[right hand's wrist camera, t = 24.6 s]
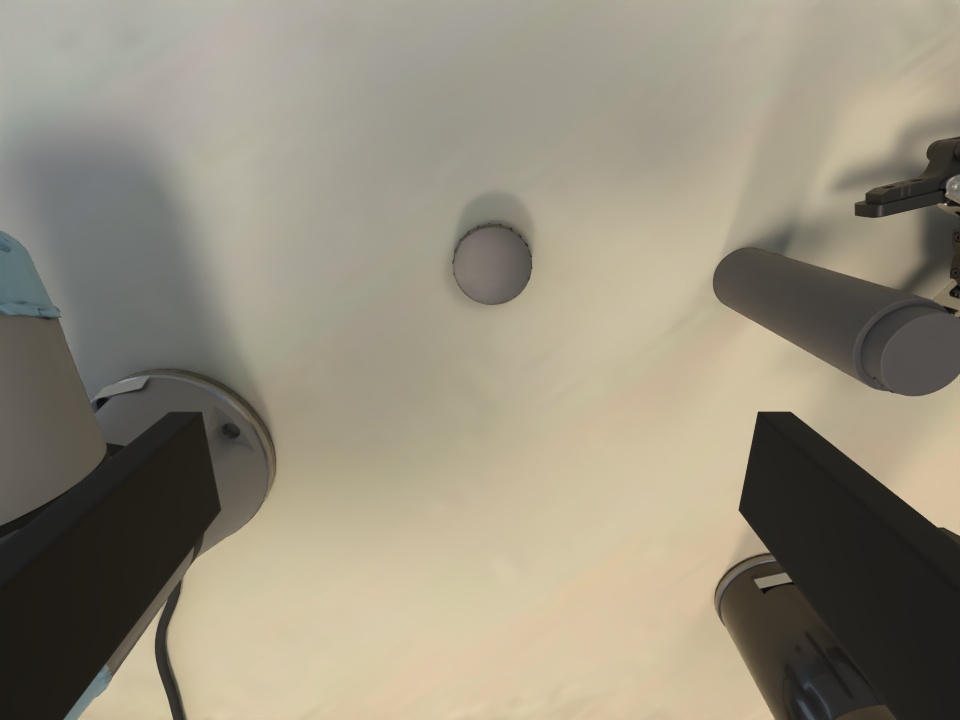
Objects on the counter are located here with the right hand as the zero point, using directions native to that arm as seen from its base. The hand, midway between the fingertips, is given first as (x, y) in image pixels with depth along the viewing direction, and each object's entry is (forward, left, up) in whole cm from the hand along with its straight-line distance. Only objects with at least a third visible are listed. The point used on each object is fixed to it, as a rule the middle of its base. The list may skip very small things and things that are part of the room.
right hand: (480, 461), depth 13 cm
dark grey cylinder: (+3, -19, -28) cm, 34 cm away
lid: (0, -1, -27) cm, 27 cm away
